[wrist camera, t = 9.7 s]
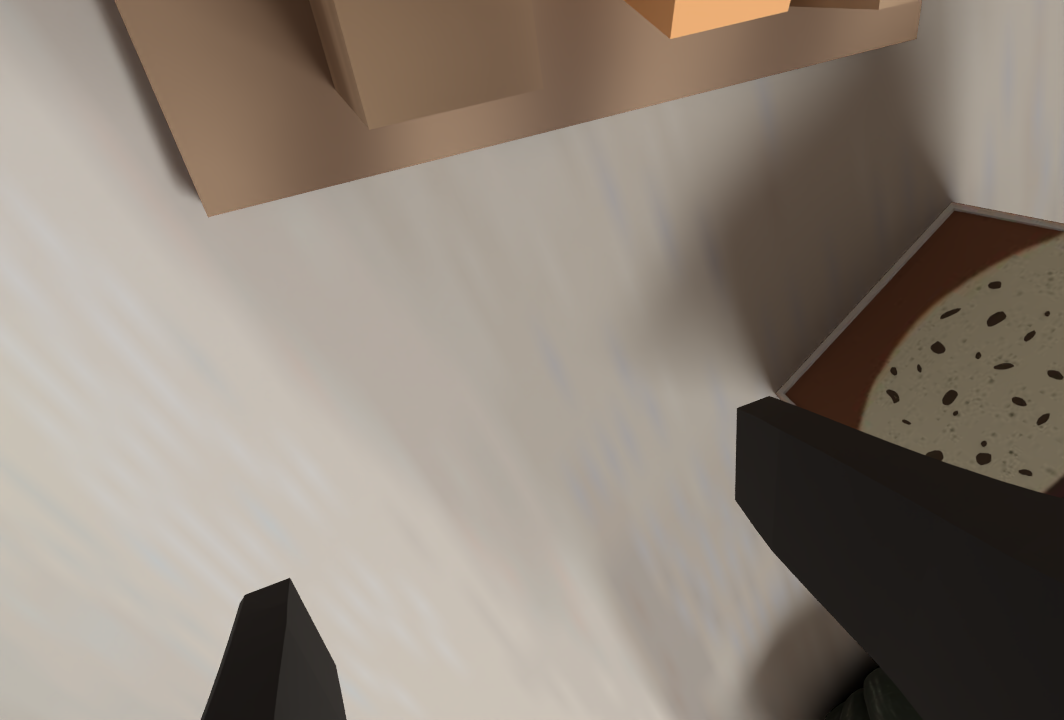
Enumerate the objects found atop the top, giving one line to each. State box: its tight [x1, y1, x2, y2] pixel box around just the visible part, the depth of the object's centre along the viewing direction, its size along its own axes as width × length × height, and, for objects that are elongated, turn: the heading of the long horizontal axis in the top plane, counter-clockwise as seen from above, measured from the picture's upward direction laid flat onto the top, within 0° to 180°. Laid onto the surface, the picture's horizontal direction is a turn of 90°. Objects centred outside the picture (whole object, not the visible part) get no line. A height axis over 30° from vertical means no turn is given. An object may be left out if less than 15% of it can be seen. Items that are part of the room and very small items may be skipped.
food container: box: [776, 202, 1064, 499], centre depth 23 cm, size 12×6×10 cm, turn 138°
